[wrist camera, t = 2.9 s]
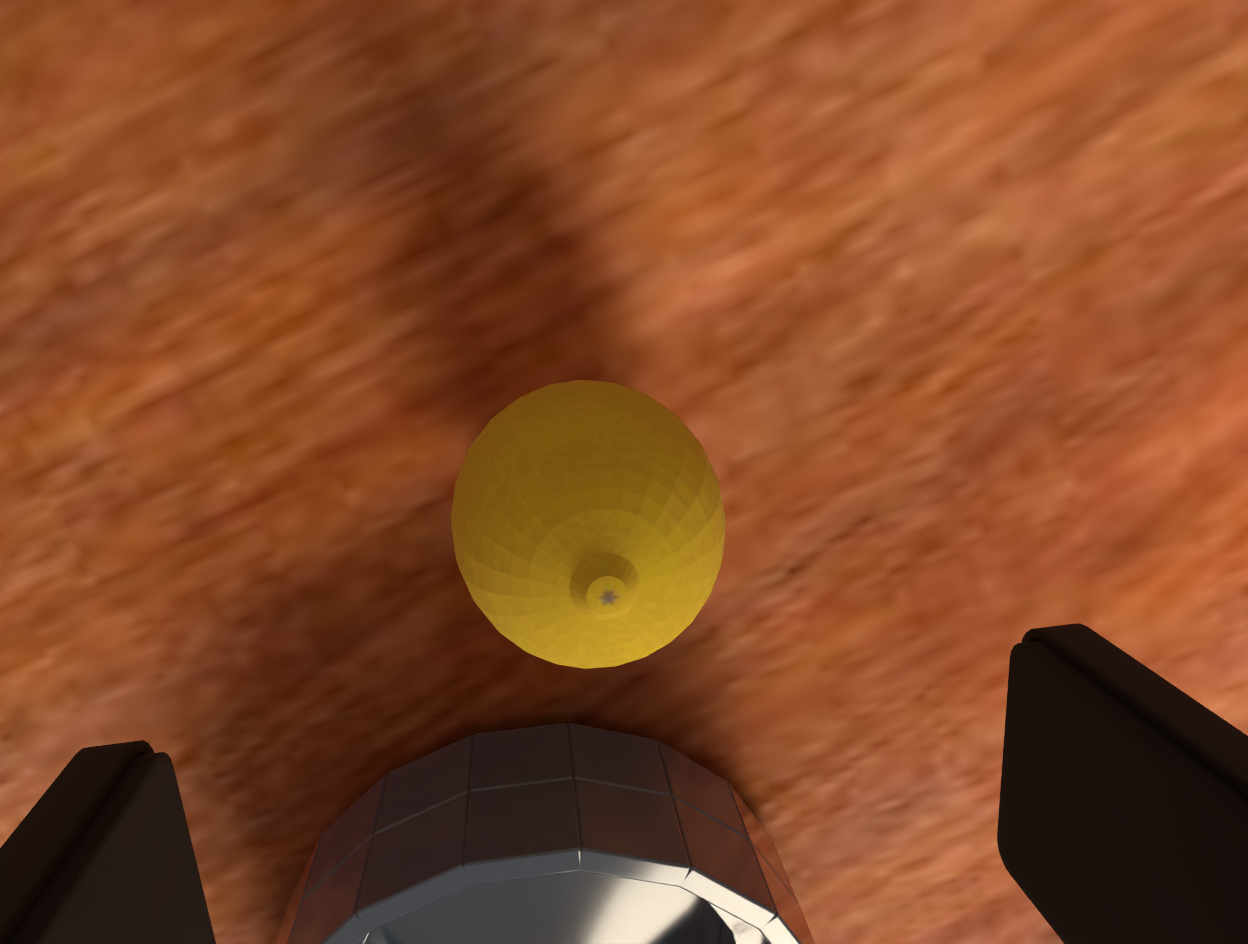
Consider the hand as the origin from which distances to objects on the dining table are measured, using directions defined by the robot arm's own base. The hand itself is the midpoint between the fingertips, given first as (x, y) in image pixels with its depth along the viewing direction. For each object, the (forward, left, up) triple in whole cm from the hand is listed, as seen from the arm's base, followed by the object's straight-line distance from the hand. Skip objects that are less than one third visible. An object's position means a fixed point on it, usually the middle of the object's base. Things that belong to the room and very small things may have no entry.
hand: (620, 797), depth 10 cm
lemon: (0, 0, -13) cm, 13 cm away
